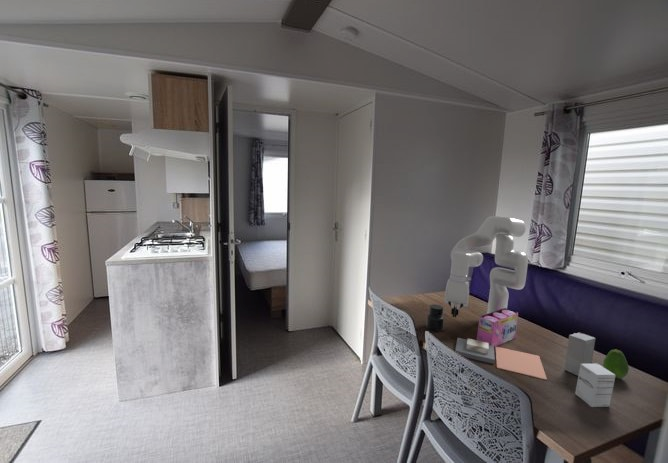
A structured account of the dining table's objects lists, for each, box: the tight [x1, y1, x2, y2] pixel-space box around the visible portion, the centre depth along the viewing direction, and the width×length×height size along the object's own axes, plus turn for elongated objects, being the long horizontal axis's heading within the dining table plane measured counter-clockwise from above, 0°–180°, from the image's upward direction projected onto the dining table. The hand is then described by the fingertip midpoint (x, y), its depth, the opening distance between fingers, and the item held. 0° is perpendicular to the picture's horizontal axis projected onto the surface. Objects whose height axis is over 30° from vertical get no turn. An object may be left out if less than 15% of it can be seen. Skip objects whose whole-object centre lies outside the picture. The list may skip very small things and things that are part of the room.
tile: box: [466, 338, 489, 354], centre depth 150 cm, size 9×6×2 cm, turn 66°
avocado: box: [602, 348, 629, 379], centre depth 134 cm, size 8×8×12 cm
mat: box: [494, 346, 548, 381], centre depth 144 cm, size 20×18×1 cm
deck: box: [455, 337, 496, 365], centre depth 151 cm, size 14×16×2 cm
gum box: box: [476, 307, 519, 348], centre depth 163 cm, size 24×8×14 cm, turn 124°
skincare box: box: [564, 332, 596, 377], centre depth 137 cm, size 8×7×16 cm
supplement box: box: [574, 362, 616, 408], centre depth 119 cm, size 7×7×13 cm
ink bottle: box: [425, 303, 445, 332], centre depth 173 cm, size 10×9×12 cm
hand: (454, 316), depth 152 cm, fingers closed
